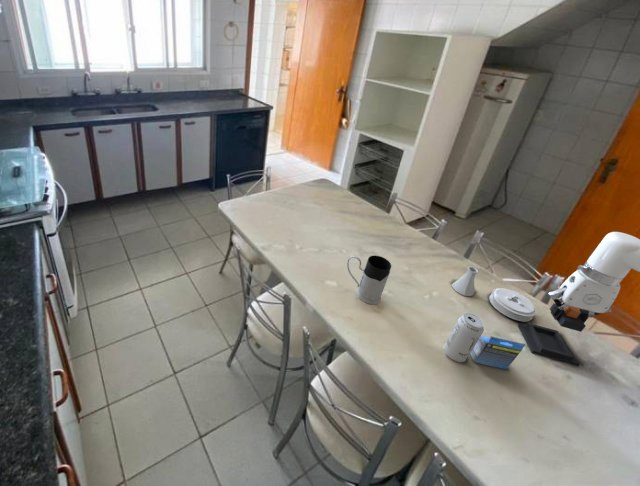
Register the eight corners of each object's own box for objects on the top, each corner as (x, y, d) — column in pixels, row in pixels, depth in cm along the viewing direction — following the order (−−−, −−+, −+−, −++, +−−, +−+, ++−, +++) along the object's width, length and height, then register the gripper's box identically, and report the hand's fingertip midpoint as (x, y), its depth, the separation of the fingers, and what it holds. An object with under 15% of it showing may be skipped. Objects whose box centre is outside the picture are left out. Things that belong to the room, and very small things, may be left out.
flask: (461, 281, 128) (471, 261, 123) (478, 294, 122) (489, 274, 117) (447, 284, 126) (457, 264, 121) (463, 298, 119) (474, 277, 115)
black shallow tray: (559, 336, 107) (563, 331, 106) (578, 366, 98) (583, 361, 97) (517, 325, 110) (520, 319, 109) (531, 352, 101) (535, 347, 100)
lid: (480, 298, 120) (485, 288, 118) (504, 292, 124) (510, 282, 122) (514, 326, 109) (521, 316, 107) (539, 319, 113) (547, 309, 111)
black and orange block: (568, 313, 101) (577, 302, 99) (581, 331, 95) (591, 320, 93) (549, 308, 102) (557, 297, 100) (560, 326, 96) (570, 314, 94)
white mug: (378, 308, 112) (391, 275, 105) (338, 291, 118) (347, 258, 111) (382, 292, 119) (395, 260, 112) (344, 276, 125) (353, 245, 118)
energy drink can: (458, 368, 94) (479, 332, 88) (438, 351, 99) (457, 316, 92) (468, 358, 97) (490, 324, 90) (448, 343, 102) (467, 308, 95)
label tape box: (499, 360, 98) (518, 332, 92) (506, 372, 94) (526, 344, 89) (467, 353, 99) (484, 325, 93) (473, 365, 96) (491, 337, 90)
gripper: (571, 273, 89) (537, 319, 98) (649, 292, 85) (607, 339, 93) (557, 257, 96) (527, 301, 104) (629, 273, 91) (591, 318, 100)
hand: (565, 319), depth 99 cm, fingers closed on black and orange block, 5 cm apart
